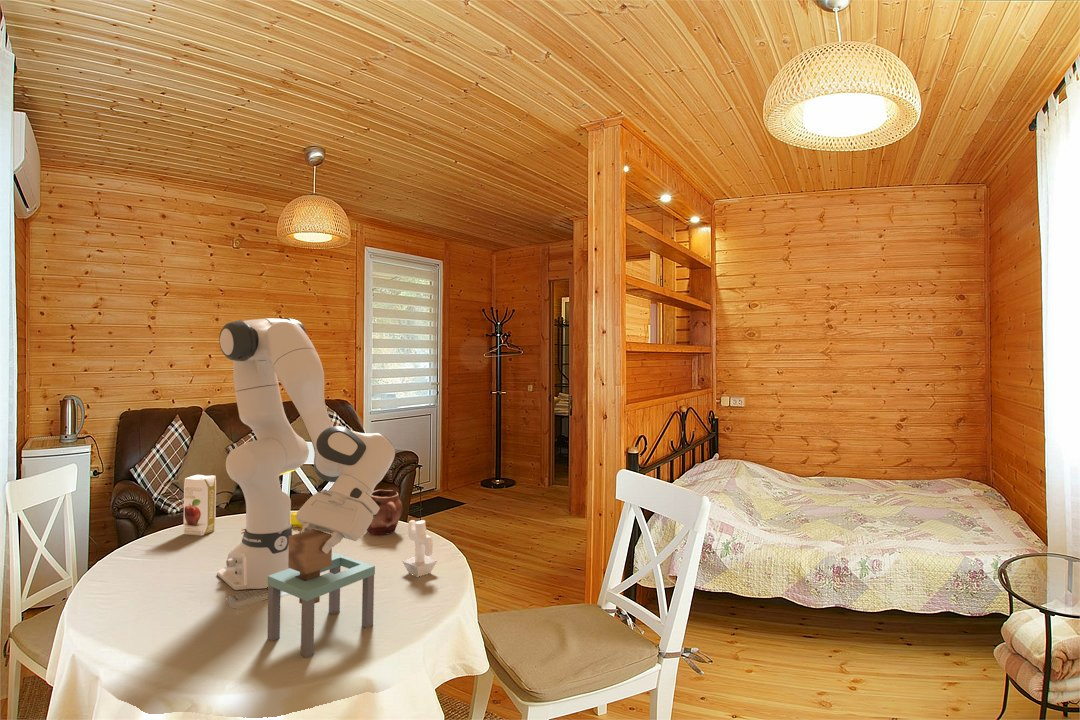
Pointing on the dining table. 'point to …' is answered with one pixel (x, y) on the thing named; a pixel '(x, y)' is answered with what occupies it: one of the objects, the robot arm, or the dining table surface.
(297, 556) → the walnut peg
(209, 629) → the dining table surface
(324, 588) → the keyhole shelf
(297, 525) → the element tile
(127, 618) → the dining table surface
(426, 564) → the figurine
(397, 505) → the decorative planter
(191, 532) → the juice carton
